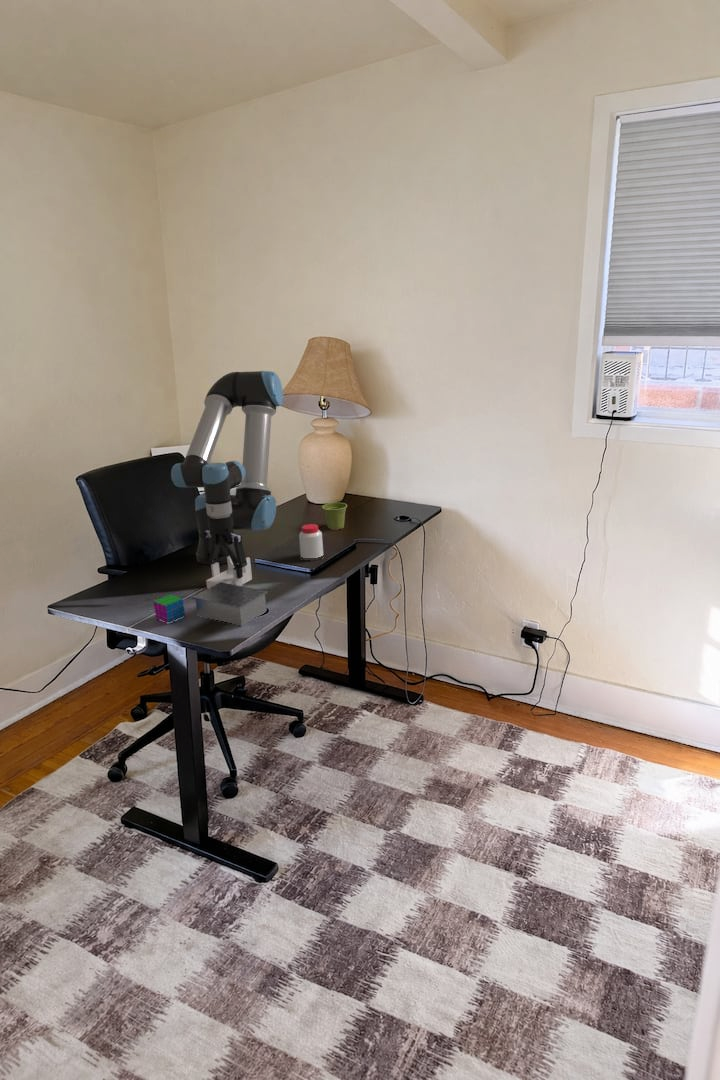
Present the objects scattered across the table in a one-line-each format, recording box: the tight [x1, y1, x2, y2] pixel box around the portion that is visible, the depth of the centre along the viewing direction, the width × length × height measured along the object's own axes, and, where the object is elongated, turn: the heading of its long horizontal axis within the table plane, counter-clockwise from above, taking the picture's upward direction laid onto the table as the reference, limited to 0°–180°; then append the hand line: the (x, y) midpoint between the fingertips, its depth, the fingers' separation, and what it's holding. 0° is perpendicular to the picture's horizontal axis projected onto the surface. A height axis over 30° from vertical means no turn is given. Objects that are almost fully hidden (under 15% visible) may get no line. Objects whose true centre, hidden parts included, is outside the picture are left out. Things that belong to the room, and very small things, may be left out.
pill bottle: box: [298, 523, 324, 558], centre depth 246 cm, size 8×8×11 cm
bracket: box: [205, 556, 253, 589], centre depth 227 cm, size 13×7×8 cm, turn 150°
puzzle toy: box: [153, 594, 186, 622], centre depth 205 cm, size 6×6×6 cm
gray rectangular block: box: [192, 582, 268, 627], centre depth 206 cm, size 17×12×6 cm
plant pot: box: [321, 502, 348, 531], centre depth 277 cm, size 9×9×9 cm
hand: (227, 585), depth 227 cm, fingers open, 8 cm apart
